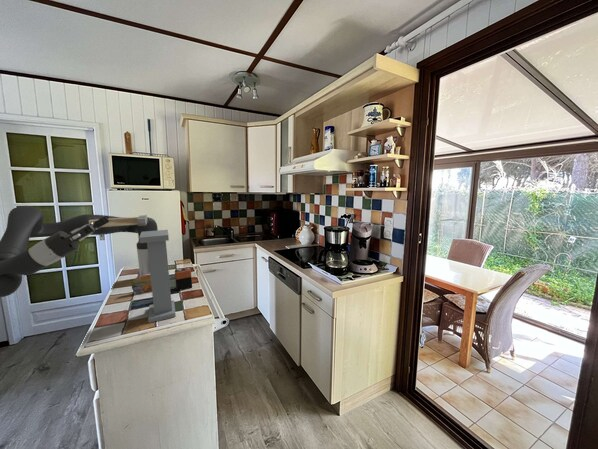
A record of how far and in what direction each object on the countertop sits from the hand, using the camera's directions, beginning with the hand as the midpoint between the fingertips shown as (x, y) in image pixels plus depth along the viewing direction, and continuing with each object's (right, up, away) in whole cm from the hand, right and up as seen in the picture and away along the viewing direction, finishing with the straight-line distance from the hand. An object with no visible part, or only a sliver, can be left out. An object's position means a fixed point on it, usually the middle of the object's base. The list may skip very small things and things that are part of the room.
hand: (107, 218), depth 86 cm
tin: (-5, -34, +34) cm, 48 cm away
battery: (+9, -33, +37) cm, 51 cm away
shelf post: (+11, -37, +13) cm, 41 cm away
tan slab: (+3, -2, +2) cm, 4 cm away
